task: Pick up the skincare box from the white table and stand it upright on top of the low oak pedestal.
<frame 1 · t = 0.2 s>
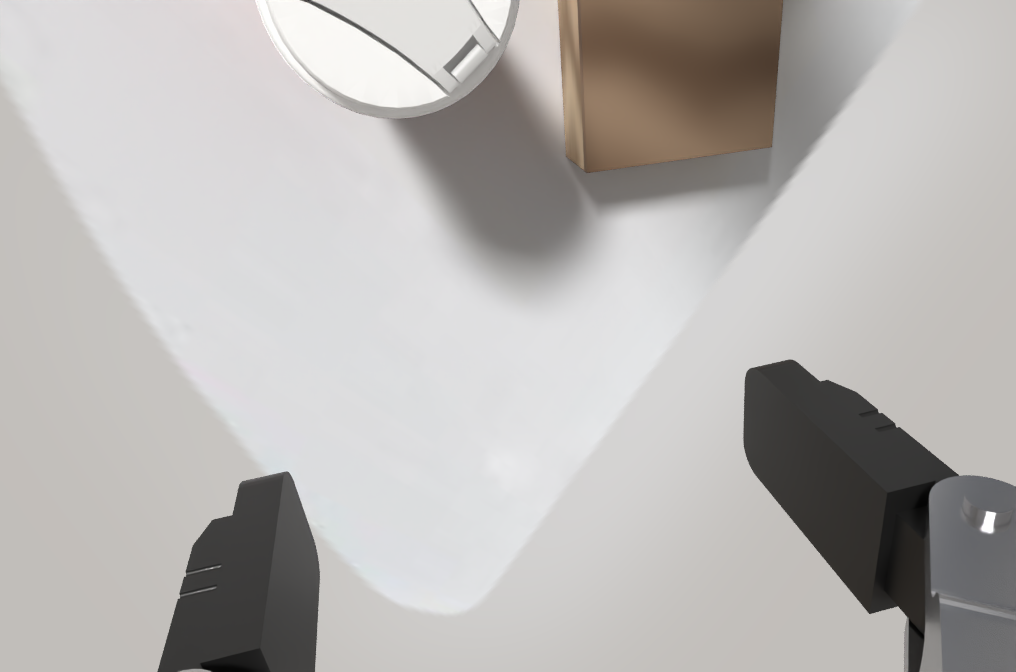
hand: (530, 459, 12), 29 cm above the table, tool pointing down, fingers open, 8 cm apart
pedestal: (652, 49, 38), on the table
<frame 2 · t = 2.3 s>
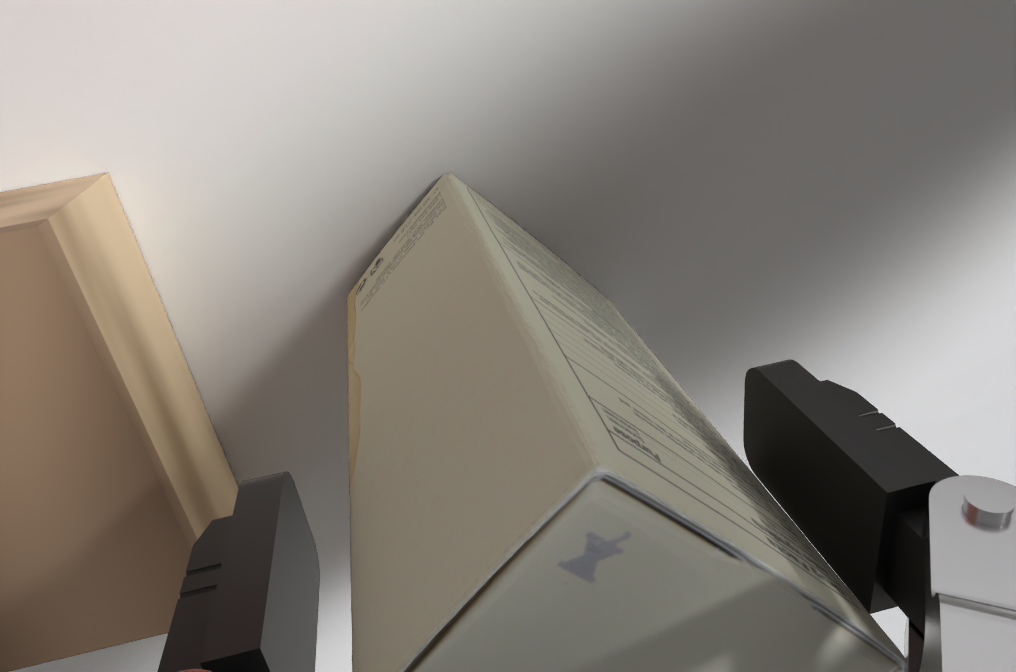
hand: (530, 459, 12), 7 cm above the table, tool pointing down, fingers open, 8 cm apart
skincare box: (488, 295, 19), on the table
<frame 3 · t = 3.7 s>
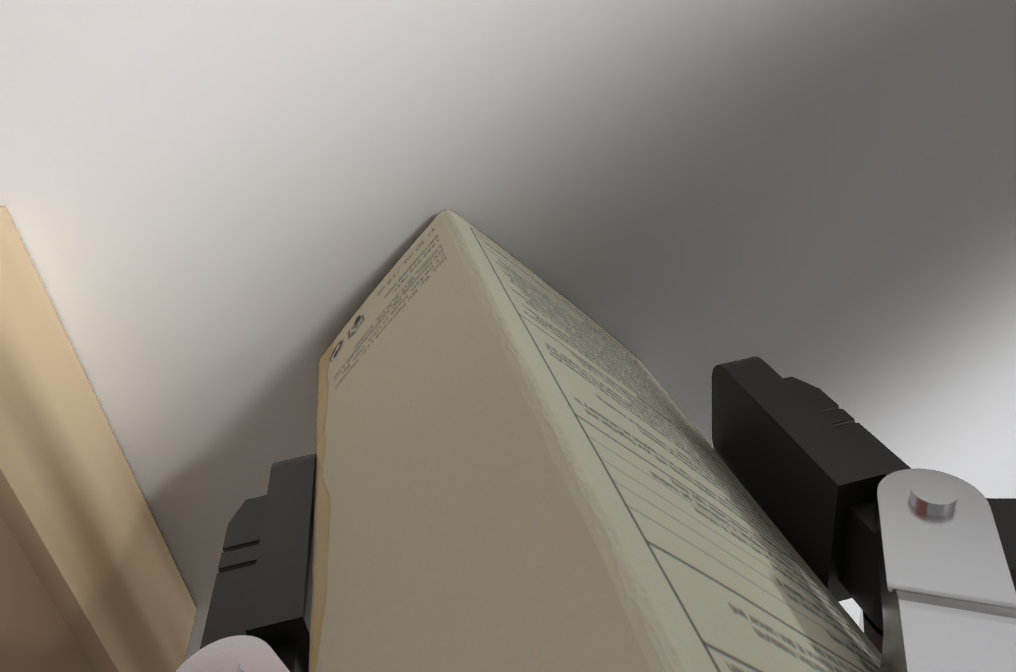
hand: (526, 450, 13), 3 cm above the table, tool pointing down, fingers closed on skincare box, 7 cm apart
skincare box: (494, 355, 16), on the table, touching gripper
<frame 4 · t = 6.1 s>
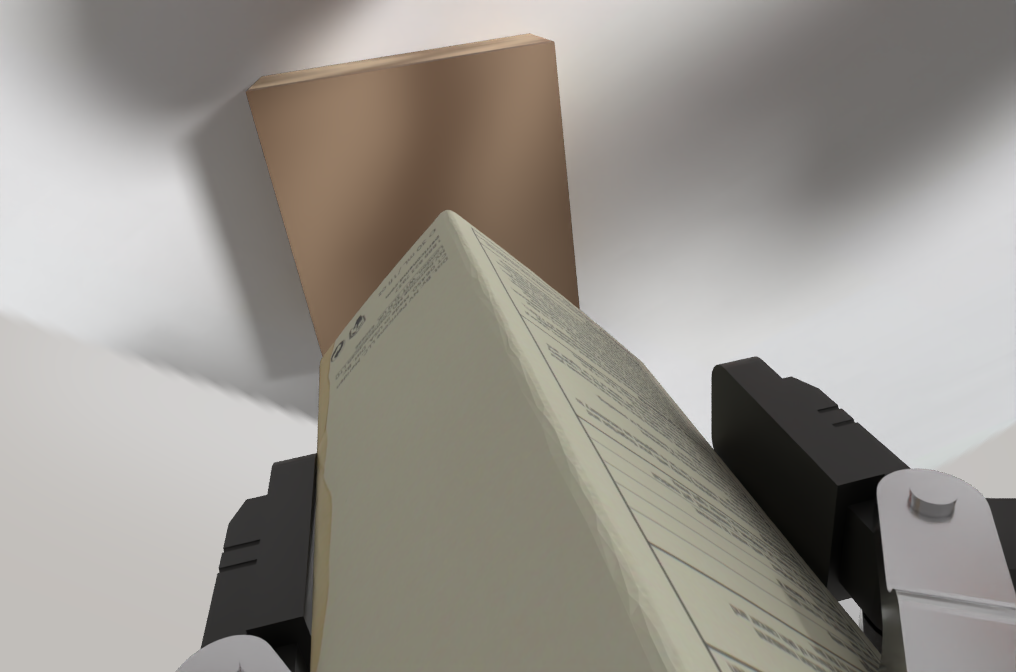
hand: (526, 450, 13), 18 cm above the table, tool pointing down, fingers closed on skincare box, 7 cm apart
pedestal: (423, 186, 29), on the table
skincare box: (495, 356, 16), point 15 cm above the table, touching gripper
when the fingers open (8 cm above the table, at t = 9.0 s): skincare box stays where it is, resting on pedestal.
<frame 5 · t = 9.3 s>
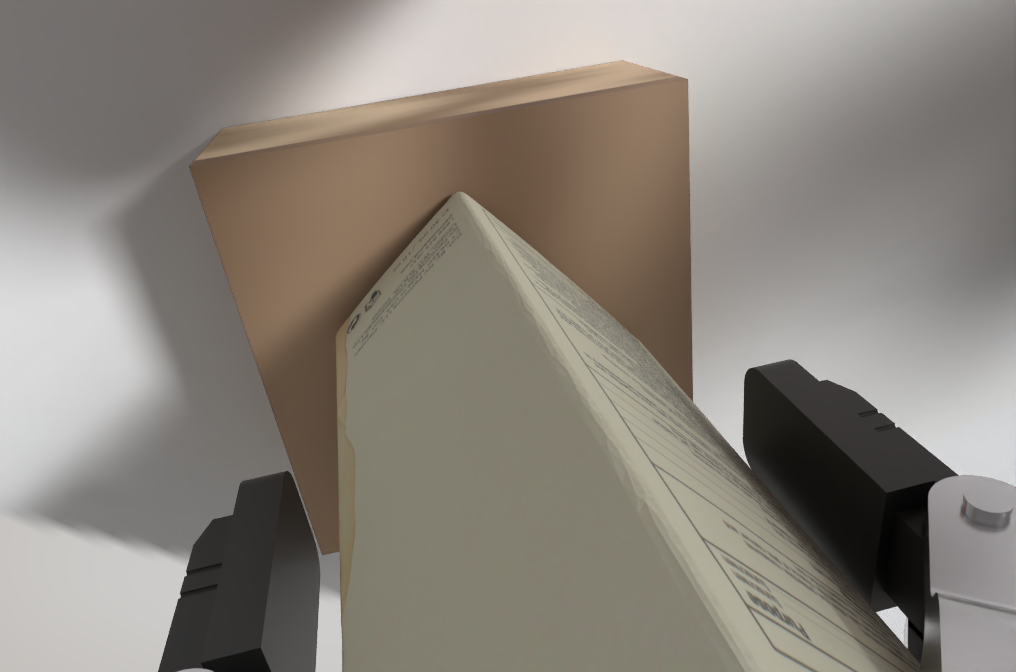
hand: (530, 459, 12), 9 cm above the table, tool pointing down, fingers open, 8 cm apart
pedestal: (461, 278, 20), on the table
skincare box: (501, 333, 17), point 4 cm above the table, touching pedestal
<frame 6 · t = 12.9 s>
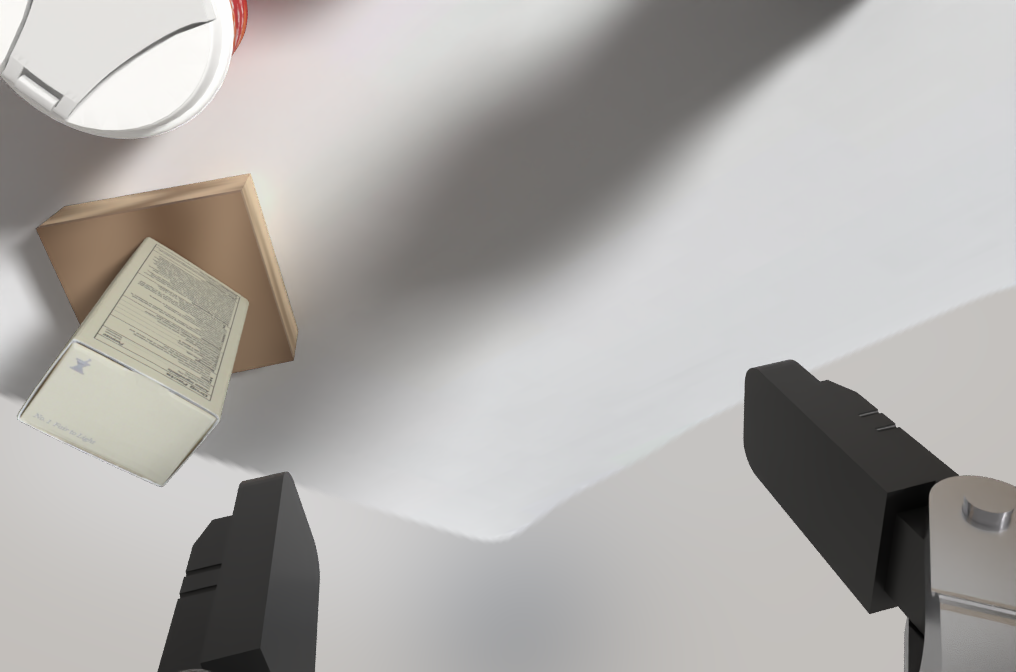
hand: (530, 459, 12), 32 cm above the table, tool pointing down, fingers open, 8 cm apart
pedestal: (189, 272, 42), on the table
coffee cup: (187, 2, 36), on the table
skincare box: (182, 295, 39), point 4 cm above the table, touching pedestal
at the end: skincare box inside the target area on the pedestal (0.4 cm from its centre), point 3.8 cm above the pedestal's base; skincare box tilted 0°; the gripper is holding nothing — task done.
